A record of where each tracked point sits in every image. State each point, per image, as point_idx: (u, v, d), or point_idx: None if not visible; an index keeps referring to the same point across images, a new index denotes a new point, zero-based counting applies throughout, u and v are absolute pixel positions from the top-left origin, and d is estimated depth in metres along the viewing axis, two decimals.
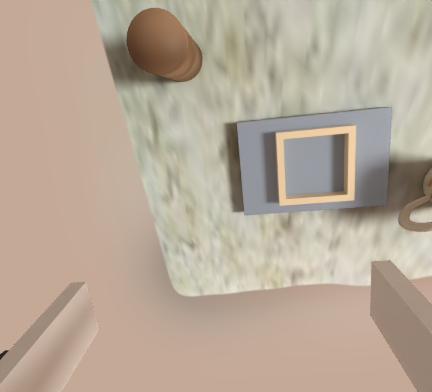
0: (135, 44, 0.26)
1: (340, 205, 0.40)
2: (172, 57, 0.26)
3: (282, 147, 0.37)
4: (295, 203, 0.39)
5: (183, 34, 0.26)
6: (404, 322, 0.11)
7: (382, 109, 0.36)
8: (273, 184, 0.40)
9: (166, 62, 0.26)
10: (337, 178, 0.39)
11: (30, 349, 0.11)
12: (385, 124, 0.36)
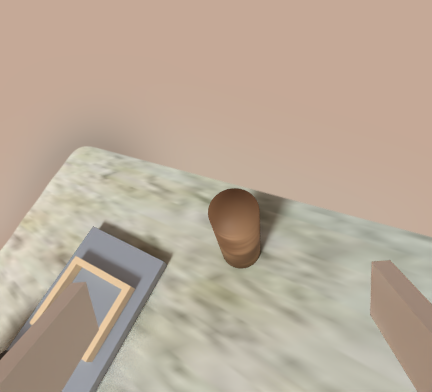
0: (240, 196, 0.31)
1: (37, 311, 0.39)
2: (215, 215, 0.30)
3: (116, 285, 0.38)
4: (67, 269, 0.39)
5: (225, 233, 0.29)
6: (404, 322, 0.11)
7: None
8: (97, 263, 0.41)
9: (215, 210, 0.30)
10: None
11: (30, 349, 0.11)
12: None
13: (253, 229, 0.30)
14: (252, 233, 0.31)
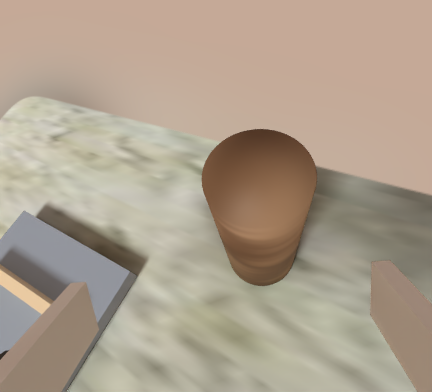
0: (273, 144, 0.14)
1: None
2: (218, 184, 0.14)
3: (42, 312, 0.21)
4: None
5: (238, 222, 0.13)
6: (404, 322, 0.11)
7: None
8: (22, 271, 0.25)
9: (217, 172, 0.14)
10: None
11: (30, 349, 0.11)
12: None
13: (302, 216, 0.13)
14: (297, 225, 0.14)
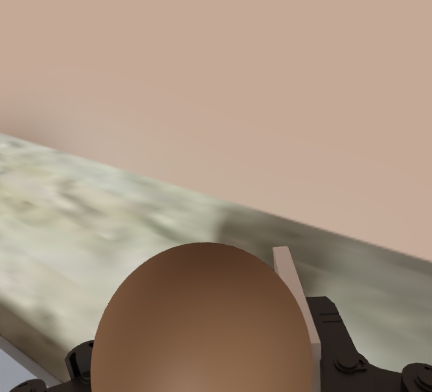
0: (230, 277, 0.08)
1: None
2: (120, 368, 0.07)
3: None
4: None
5: None
6: None
7: None
8: None
9: (122, 338, 0.07)
10: None
11: None
12: None
13: None
14: None
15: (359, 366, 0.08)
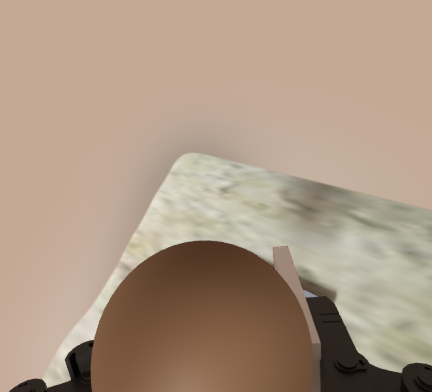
0: (231, 275, 0.08)
1: None
2: (120, 367, 0.07)
3: None
4: None
5: None
6: None
7: None
8: None
9: (122, 336, 0.07)
10: None
11: None
12: None
13: None
14: None
15: (359, 366, 0.08)
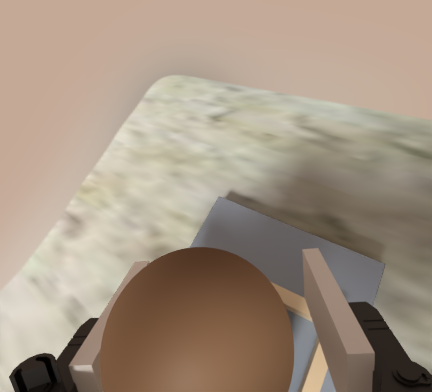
0: (222, 278, 0.09)
1: None
2: (125, 359, 0.08)
3: (309, 313, 0.18)
4: None
5: None
6: (316, 298, 0.13)
7: None
8: None
9: (127, 332, 0.08)
10: None
11: None
12: None
13: None
14: None
15: (422, 380, 0.08)
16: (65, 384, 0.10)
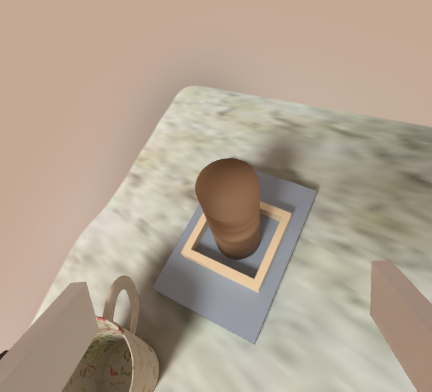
0: (235, 167, 0.25)
1: (180, 243, 0.35)
2: (204, 191, 0.24)
3: (274, 212, 0.34)
4: None
5: (216, 212, 0.23)
6: (404, 322, 0.11)
7: (257, 332, 0.30)
8: None
9: (204, 184, 0.24)
10: (210, 253, 0.34)
11: (30, 349, 0.11)
12: (239, 328, 0.30)
13: (251, 207, 0.24)
14: (250, 213, 0.25)
15: None
16: None
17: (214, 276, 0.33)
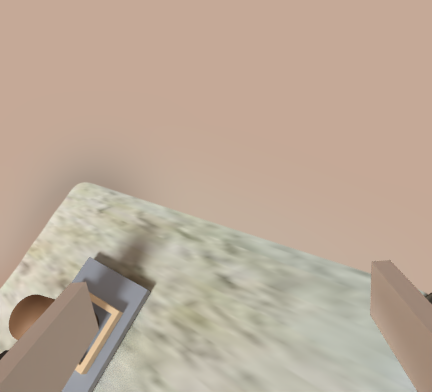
0: (39, 302, 0.36)
1: None
2: (14, 321, 0.36)
3: (107, 310, 0.45)
4: None
5: (17, 338, 0.35)
6: (404, 322, 0.11)
7: None
8: (92, 289, 0.49)
9: (16, 315, 0.36)
10: None
11: (30, 349, 0.11)
12: None
13: None
14: None
15: None
16: None
17: None
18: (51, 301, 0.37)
